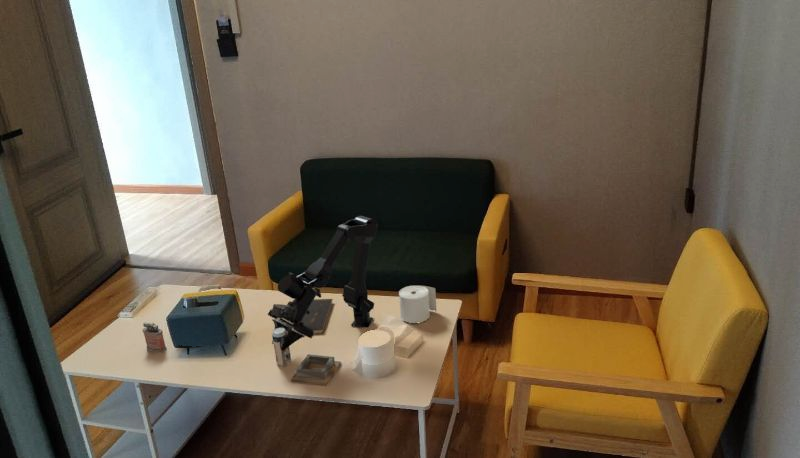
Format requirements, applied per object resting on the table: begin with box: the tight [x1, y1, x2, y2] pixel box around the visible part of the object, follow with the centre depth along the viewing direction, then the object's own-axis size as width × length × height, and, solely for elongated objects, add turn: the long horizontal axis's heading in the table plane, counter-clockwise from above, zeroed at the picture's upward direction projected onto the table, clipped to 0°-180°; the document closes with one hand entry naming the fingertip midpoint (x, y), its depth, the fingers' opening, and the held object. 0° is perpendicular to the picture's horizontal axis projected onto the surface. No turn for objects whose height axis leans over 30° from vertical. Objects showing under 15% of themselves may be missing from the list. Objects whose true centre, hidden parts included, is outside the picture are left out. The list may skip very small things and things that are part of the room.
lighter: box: [142, 322, 167, 353], centre depth 214 cm, size 8×3×10 cm, turn 65°
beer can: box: [271, 327, 292, 367], centre depth 200 cm, size 5×5×12 cm
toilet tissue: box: [398, 285, 437, 324], centre depth 223 cm, size 11×12×10 cm
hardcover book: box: [286, 298, 333, 334], centre depth 229 cm, size 16×23×2 cm
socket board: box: [290, 353, 342, 387], centre depth 194 cm, size 12×12×4 cm
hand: (277, 346), depth 199 cm, fingers closed on beer can, 5 cm apart
